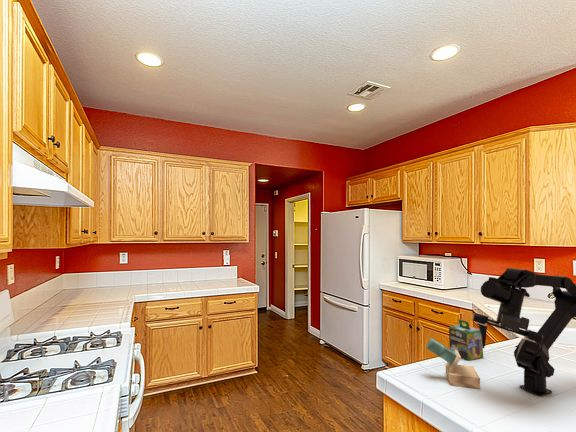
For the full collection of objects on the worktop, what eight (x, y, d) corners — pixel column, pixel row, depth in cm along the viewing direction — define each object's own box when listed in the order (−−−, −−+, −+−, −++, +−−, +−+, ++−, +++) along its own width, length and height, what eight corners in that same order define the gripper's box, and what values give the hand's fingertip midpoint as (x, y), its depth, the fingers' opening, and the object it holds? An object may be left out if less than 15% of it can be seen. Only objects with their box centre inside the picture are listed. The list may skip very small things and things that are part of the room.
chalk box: (483, 358, 134) (483, 321, 135) (467, 361, 131) (466, 323, 132) (464, 350, 143) (463, 316, 144) (448, 353, 140) (448, 318, 140)
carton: (473, 376, 117) (473, 366, 118) (480, 389, 108) (479, 378, 108) (445, 372, 120) (445, 363, 120) (450, 384, 111) (449, 374, 111)
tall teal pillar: (457, 350, 118) (431, 334, 121) (461, 357, 111) (433, 340, 114) (448, 363, 119) (423, 347, 122) (451, 372, 112) (424, 354, 115)
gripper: (480, 295, 104) (468, 344, 102) (553, 317, 95) (541, 370, 93) (477, 296, 113) (466, 341, 111) (543, 316, 105) (532, 365, 103)
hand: (499, 353), depth 104 cm, fingers open, 9 cm apart
